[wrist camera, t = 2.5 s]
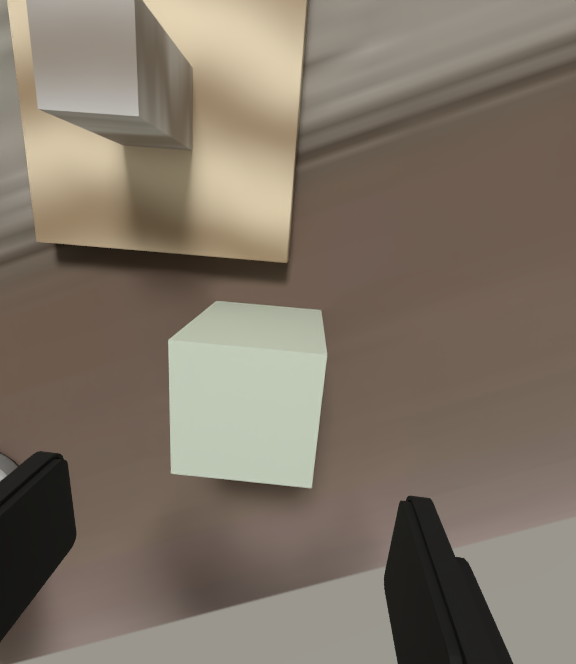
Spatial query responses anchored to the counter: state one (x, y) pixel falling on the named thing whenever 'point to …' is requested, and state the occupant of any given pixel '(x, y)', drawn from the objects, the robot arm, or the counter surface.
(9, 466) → the travel mug
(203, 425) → the pale green block
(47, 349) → the counter surface
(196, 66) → the post board
